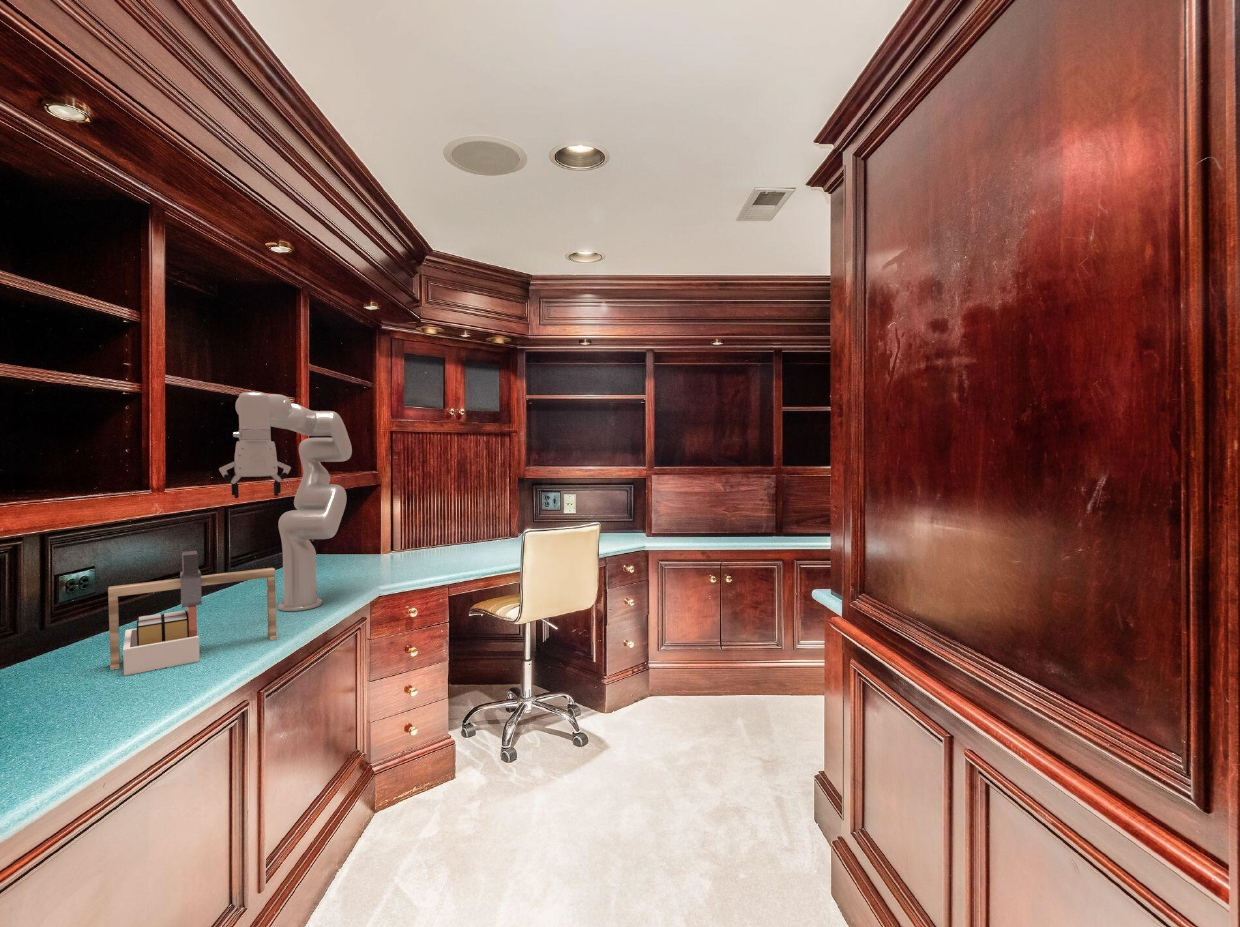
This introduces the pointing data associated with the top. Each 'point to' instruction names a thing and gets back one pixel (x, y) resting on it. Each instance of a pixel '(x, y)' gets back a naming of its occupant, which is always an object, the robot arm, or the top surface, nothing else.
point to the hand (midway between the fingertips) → (256, 496)
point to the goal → (157, 653)
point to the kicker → (191, 588)
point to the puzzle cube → (162, 627)
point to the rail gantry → (176, 584)
